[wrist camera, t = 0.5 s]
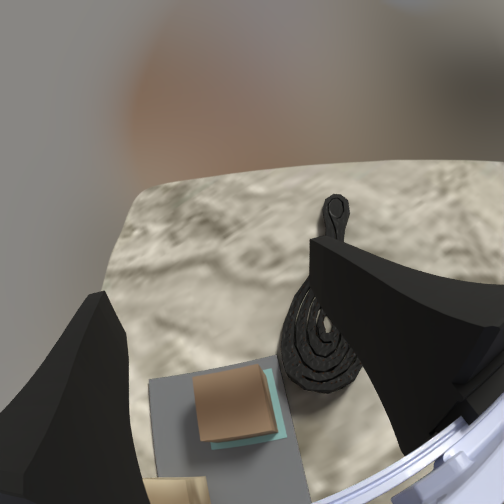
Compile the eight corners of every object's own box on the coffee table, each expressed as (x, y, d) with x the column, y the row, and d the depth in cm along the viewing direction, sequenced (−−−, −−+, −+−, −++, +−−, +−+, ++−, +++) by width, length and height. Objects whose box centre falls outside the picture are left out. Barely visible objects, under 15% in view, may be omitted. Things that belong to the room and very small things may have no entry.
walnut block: (278, 432, 21) (272, 430, 18) (217, 442, 21) (200, 441, 18) (266, 375, 25) (258, 363, 22) (208, 387, 25) (192, 376, 22)
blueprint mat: (312, 507, 17) (312, 509, 16) (168, 519, 17) (165, 520, 17) (277, 356, 26) (276, 354, 26) (151, 380, 27) (148, 379, 26)
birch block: (214, 518, 17) (195, 529, 13) (168, 517, 17) (143, 525, 14) (205, 476, 20) (185, 479, 16) (161, 477, 20) (135, 478, 16)
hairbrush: (368, 183, 34) (370, 392, 19) (367, 205, 37) (363, 401, 22) (304, 181, 37) (264, 381, 21) (306, 203, 39) (271, 392, 24)
